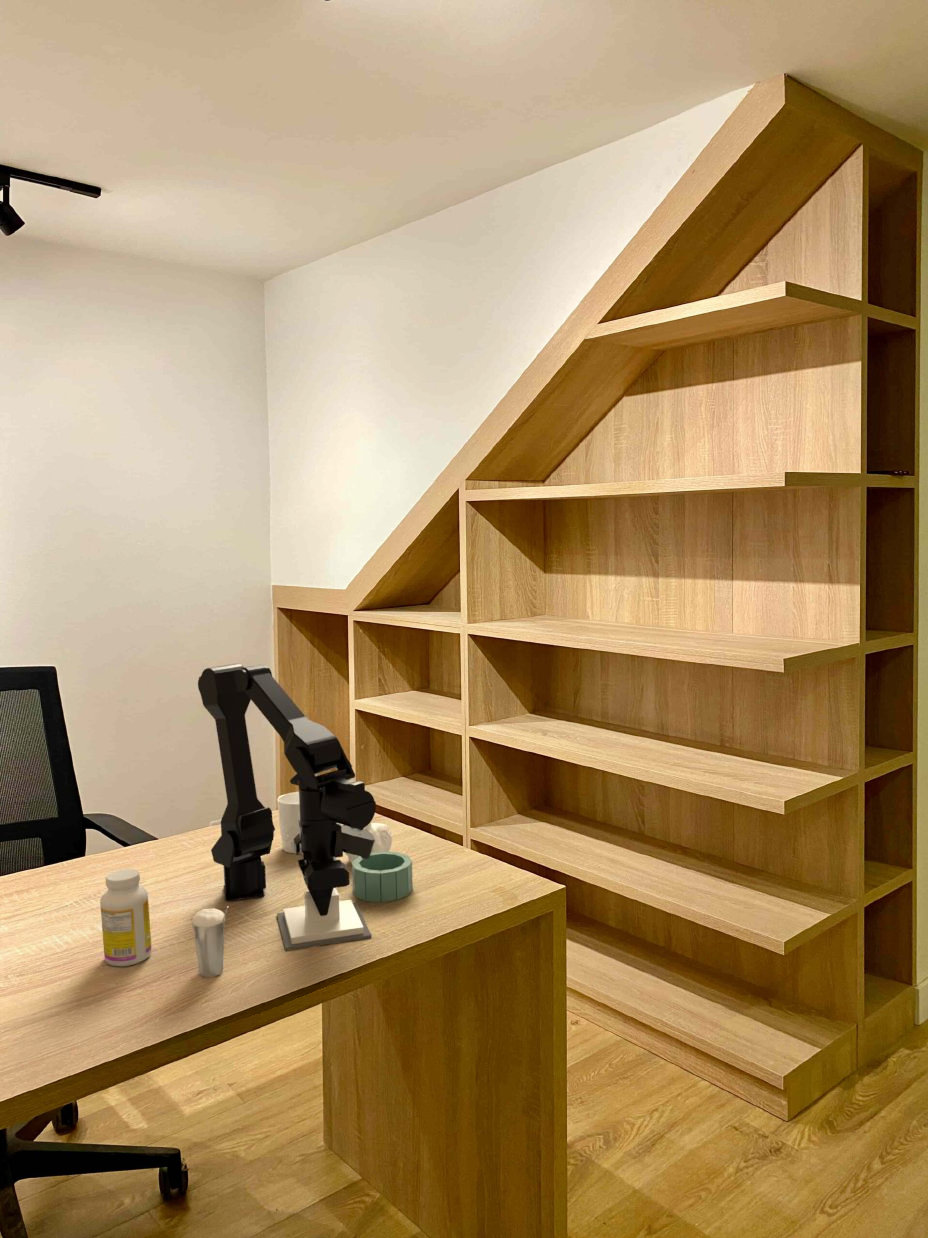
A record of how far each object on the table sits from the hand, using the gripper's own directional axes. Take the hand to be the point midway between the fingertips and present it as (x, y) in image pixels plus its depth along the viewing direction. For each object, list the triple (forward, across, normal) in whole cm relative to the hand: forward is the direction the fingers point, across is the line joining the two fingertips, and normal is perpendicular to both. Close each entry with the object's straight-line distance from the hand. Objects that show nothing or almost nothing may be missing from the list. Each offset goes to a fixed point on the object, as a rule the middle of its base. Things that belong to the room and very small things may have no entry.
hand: (322, 911), depth 149 cm
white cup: (+3, +37, -1) cm, 37 cm away
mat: (+2, 0, 0) cm, 2 cm away
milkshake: (+3, -10, +17) cm, 20 cm away
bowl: (+2, +11, -12) cm, 16 cm away
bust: (+3, +27, -12) cm, 30 cm away
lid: (+2, 0, 0) cm, 2 cm away
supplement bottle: (+3, -1, +29) cm, 29 cm away
